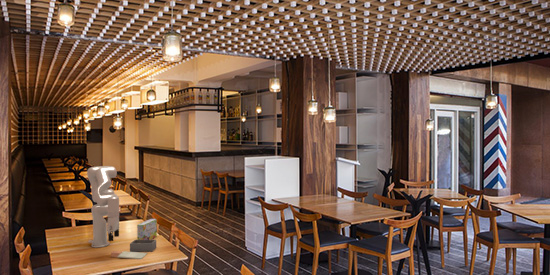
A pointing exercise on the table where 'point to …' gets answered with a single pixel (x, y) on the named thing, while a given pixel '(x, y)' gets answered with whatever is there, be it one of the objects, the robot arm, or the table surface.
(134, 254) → the lid
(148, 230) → the snack box
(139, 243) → the tub
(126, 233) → the table surface
